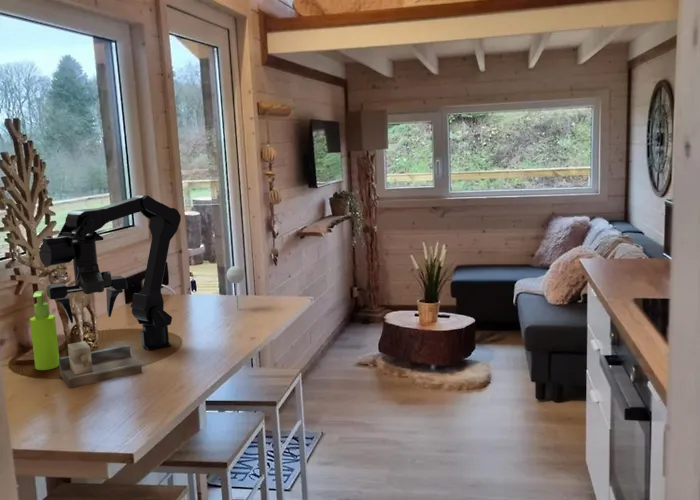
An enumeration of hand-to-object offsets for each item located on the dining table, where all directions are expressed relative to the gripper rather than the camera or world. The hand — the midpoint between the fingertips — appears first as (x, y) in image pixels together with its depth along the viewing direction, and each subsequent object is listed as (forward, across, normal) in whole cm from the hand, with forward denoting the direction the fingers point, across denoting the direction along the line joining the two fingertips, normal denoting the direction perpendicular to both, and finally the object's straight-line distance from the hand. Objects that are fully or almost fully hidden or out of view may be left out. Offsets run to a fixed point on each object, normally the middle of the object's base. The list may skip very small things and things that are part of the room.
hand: (90, 319), depth 171 cm
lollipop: (+12, +53, +29) cm, 62 cm away
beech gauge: (+10, -5, -9) cm, 15 cm away
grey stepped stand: (+12, 0, -8) cm, 15 cm away
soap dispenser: (+12, -10, +6) cm, 17 cm away
